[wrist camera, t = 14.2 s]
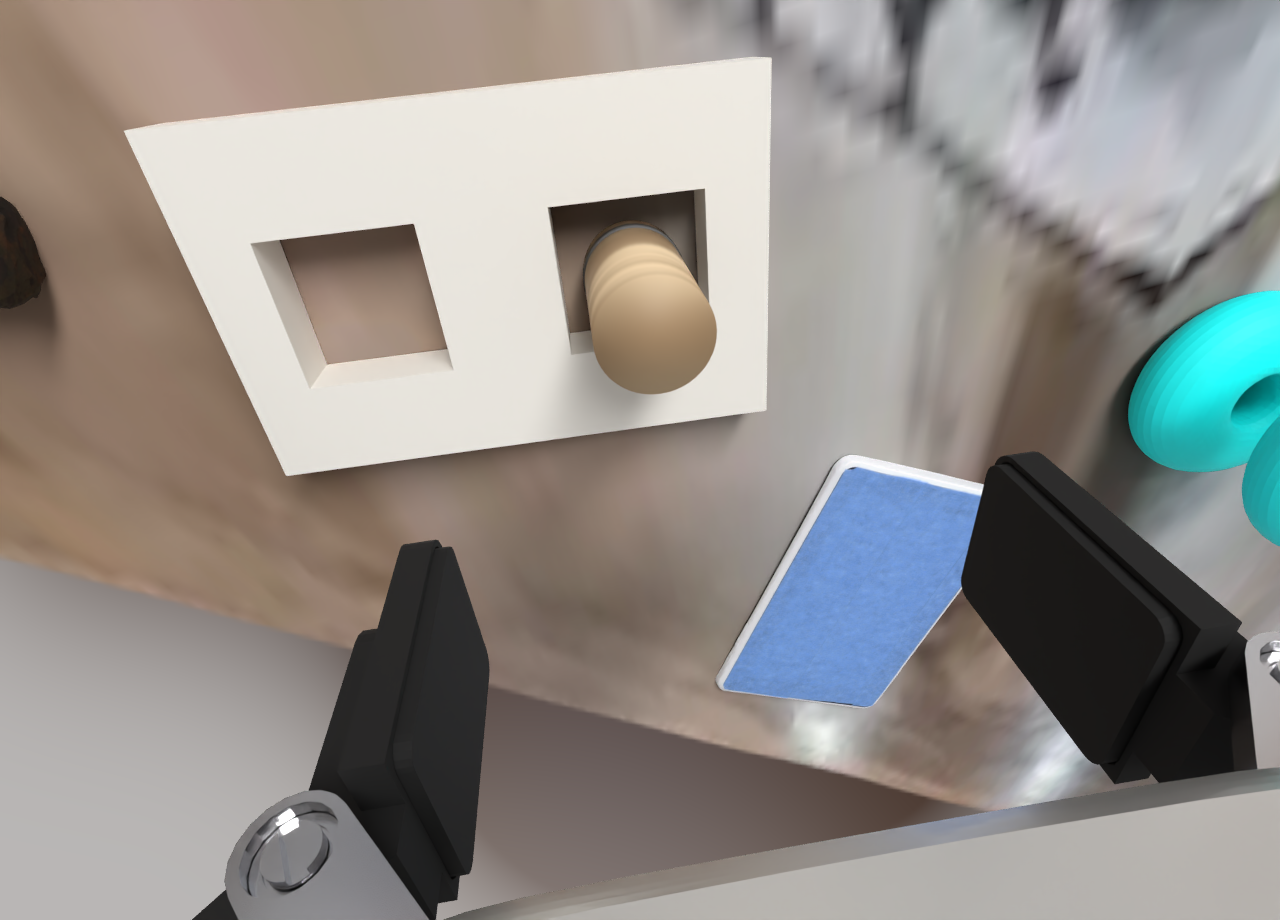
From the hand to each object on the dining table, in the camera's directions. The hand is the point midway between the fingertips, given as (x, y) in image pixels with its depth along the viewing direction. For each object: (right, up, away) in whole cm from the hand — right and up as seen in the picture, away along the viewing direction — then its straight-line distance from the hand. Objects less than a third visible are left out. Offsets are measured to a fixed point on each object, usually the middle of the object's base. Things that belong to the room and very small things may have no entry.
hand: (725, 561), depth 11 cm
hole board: (-7, +10, +17) cm, 21 cm away
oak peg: (-2, +10, +17) cm, 20 cm away
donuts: (+29, +6, +24) cm, 38 cm away
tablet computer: (+12, -7, +30) cm, 33 cm away
